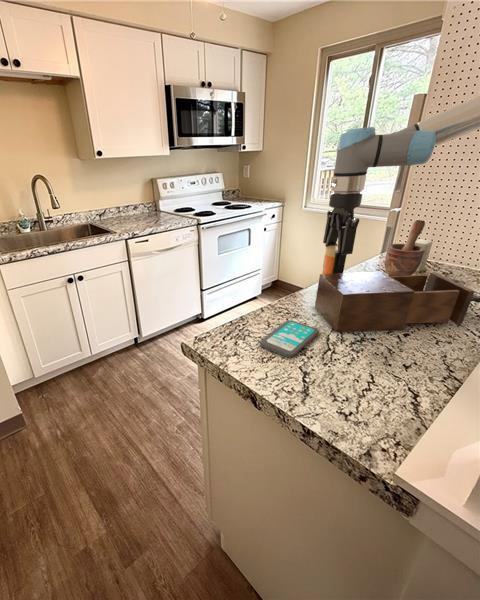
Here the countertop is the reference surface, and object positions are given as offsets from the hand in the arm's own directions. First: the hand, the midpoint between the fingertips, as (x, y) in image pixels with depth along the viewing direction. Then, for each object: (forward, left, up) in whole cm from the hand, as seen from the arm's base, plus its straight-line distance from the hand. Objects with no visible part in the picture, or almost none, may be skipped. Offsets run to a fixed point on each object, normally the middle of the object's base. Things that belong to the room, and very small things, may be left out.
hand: (332, 270), depth 95 cm
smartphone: (+7, +31, -8) cm, 33 cm away
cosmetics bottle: (-25, -31, -8) cm, 40 cm away
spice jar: (0, 0, -8) cm, 8 cm away
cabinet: (-7, +14, -8) cm, 18 cm away
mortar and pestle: (-18, -13, -8) cm, 23 cm away
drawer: (-22, +8, -7) cm, 24 cm away
